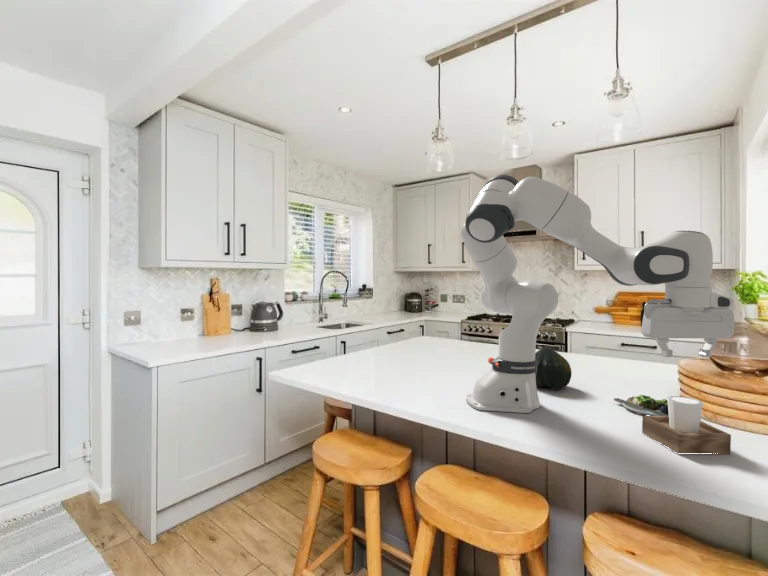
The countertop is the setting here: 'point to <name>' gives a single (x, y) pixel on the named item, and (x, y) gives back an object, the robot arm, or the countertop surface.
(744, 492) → the countertop surface
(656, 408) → the salad plate
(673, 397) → the shot glass
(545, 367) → the squash
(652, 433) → the walnut stand
